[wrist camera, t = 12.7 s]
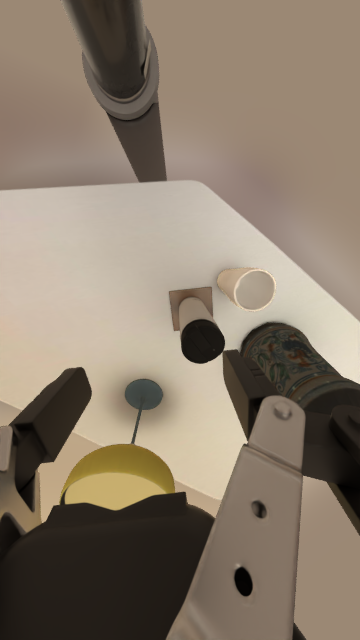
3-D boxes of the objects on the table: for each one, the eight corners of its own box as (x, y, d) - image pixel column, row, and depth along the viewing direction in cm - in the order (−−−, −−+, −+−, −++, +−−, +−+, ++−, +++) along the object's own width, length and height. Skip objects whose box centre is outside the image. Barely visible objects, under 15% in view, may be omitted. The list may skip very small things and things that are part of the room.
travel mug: (194, 290, 42) (210, 315, 23) (209, 312, 43) (235, 352, 24) (172, 305, 43) (170, 341, 24) (188, 326, 44) (197, 375, 25)
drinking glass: (208, 288, 42) (225, 303, 28) (221, 260, 40) (246, 261, 26) (233, 299, 43) (262, 318, 29) (247, 272, 41) (285, 278, 27)
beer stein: (298, 313, 44) (438, 374, 21) (302, 376, 51) (412, 478, 27) (233, 330, 46) (296, 406, 22) (244, 389, 52) (303, 499, 28)
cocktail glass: (187, 391, 51) (198, 503, 28) (149, 427, 56) (130, 552, 32) (137, 356, 47) (98, 452, 24) (100, 398, 51) (36, 516, 28)
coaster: (169, 291, 42) (169, 291, 42) (211, 286, 42) (211, 287, 41) (174, 330, 45) (173, 331, 45) (213, 326, 45) (213, 326, 45)
